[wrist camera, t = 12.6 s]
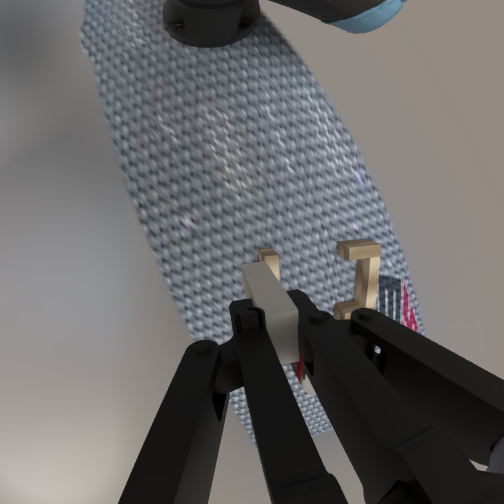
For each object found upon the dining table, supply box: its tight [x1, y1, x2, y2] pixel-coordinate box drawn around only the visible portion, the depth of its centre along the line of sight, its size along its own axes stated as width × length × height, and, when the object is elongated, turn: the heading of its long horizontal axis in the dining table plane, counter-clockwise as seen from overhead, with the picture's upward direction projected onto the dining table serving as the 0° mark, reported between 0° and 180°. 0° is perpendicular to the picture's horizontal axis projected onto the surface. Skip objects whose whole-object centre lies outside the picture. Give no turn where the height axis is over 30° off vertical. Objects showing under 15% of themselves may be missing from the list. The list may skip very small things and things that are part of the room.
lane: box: [259, 239, 381, 320], centre depth 42 cm, size 13×19×4 cm
